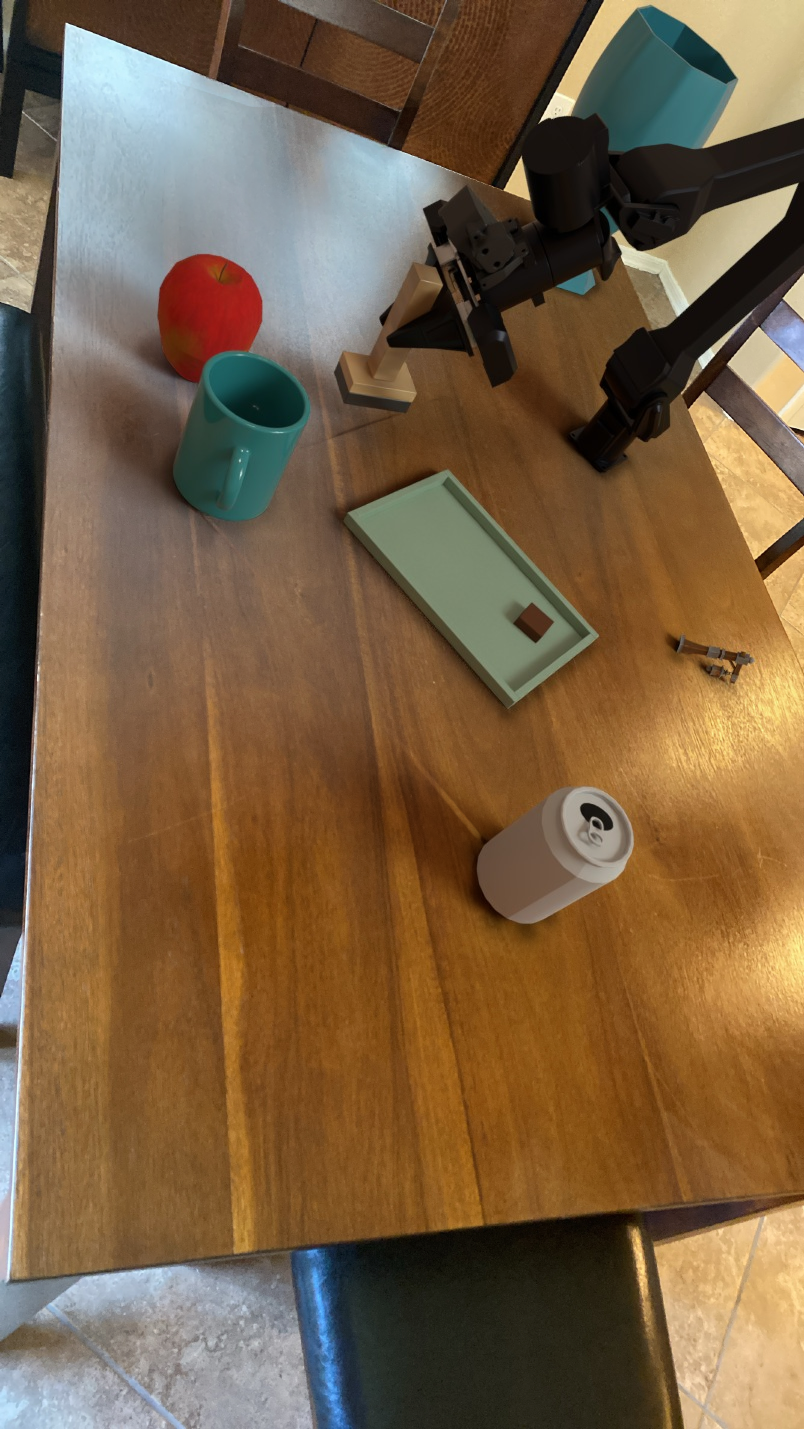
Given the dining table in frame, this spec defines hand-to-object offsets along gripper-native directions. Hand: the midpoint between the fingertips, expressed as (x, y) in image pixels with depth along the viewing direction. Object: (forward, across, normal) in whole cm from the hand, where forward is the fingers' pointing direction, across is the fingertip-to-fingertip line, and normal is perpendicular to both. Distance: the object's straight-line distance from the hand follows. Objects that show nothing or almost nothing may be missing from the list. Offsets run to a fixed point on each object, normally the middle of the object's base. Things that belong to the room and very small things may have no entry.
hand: (384, 332), depth 81 cm
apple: (+19, -4, -2) cm, 19 cm away
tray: (+2, +20, +15) cm, 25 cm away
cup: (+18, +12, -2) cm, 22 cm away
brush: (+4, 0, +6) cm, 7 cm away
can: (+6, +50, +11) cm, 52 cm away
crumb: (-3, +25, +18) cm, 31 cm away
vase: (-24, -43, +41) cm, 64 cm away
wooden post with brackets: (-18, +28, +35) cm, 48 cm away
